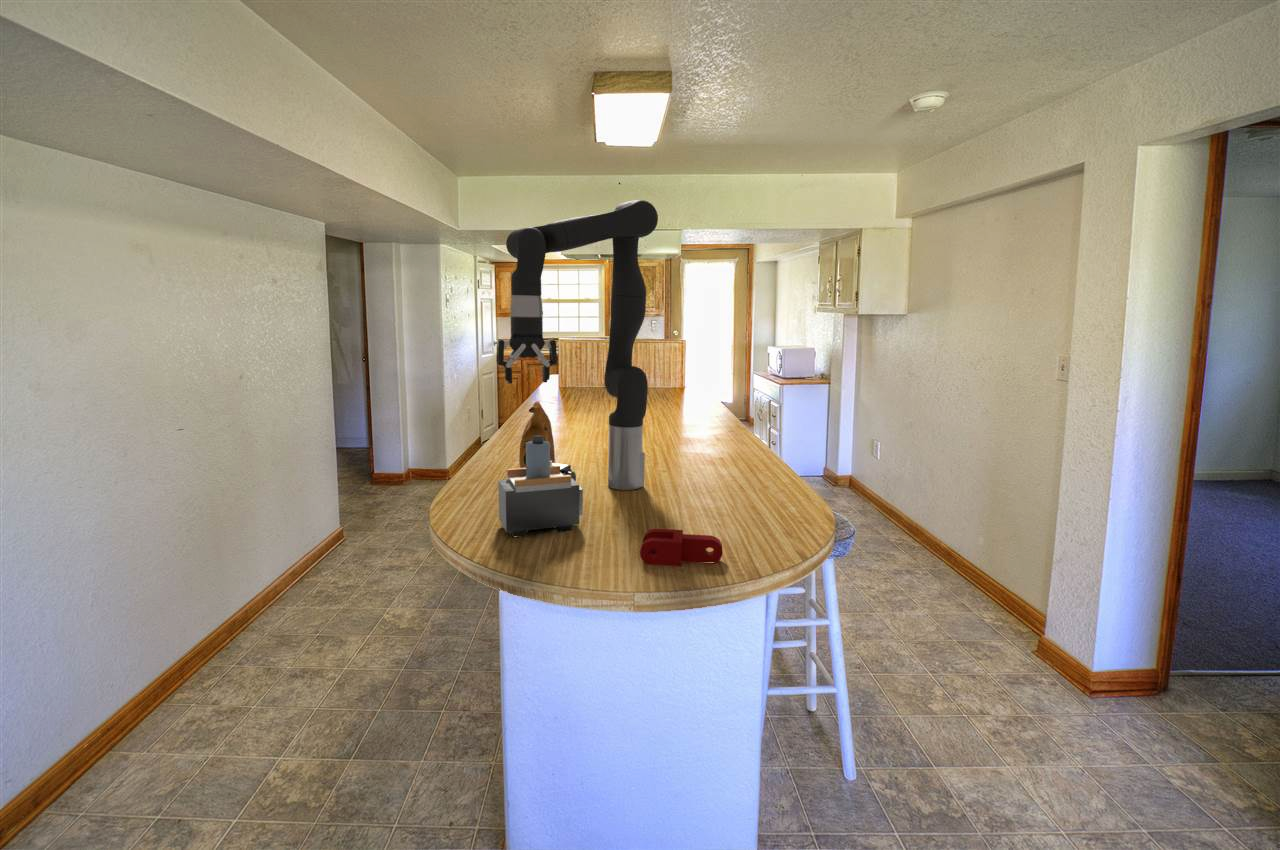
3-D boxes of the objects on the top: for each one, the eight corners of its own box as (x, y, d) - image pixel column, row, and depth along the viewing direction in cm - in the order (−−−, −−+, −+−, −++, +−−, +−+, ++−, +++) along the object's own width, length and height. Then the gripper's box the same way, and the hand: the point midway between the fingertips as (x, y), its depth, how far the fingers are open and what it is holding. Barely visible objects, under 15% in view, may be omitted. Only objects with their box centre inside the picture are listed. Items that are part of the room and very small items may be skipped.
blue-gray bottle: (546, 474, 147) (546, 433, 146) (552, 480, 143) (552, 437, 141) (523, 476, 145) (523, 434, 144) (529, 482, 141) (528, 439, 139)
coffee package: (514, 487, 177) (513, 407, 173) (523, 475, 189) (522, 400, 185) (551, 488, 177) (550, 408, 172) (558, 476, 189) (558, 401, 185)
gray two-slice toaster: (572, 517, 154) (572, 464, 152) (585, 531, 145) (585, 474, 142) (498, 524, 148) (497, 469, 145) (506, 539, 139) (505, 481, 136)
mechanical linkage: (639, 564, 128) (640, 540, 127) (643, 551, 135) (643, 527, 134) (722, 569, 126) (723, 544, 125) (721, 555, 133) (722, 532, 132)
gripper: (552, 315, 162) (552, 380, 165) (493, 314, 157) (495, 381, 160) (559, 315, 156) (559, 383, 159) (499, 315, 150) (500, 385, 153)
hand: (527, 382), depth 159 cm, fingers open, 8 cm apart
